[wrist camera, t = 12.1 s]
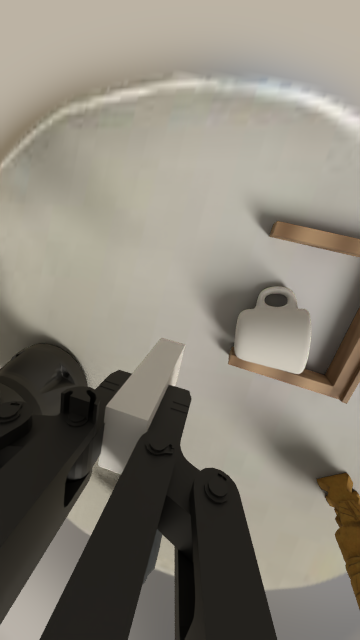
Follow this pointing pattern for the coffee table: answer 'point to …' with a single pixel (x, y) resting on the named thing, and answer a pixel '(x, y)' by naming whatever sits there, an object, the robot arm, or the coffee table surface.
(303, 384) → the brown wooden open frame
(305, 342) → the cup
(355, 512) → the figurine
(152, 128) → the coffee table surface
